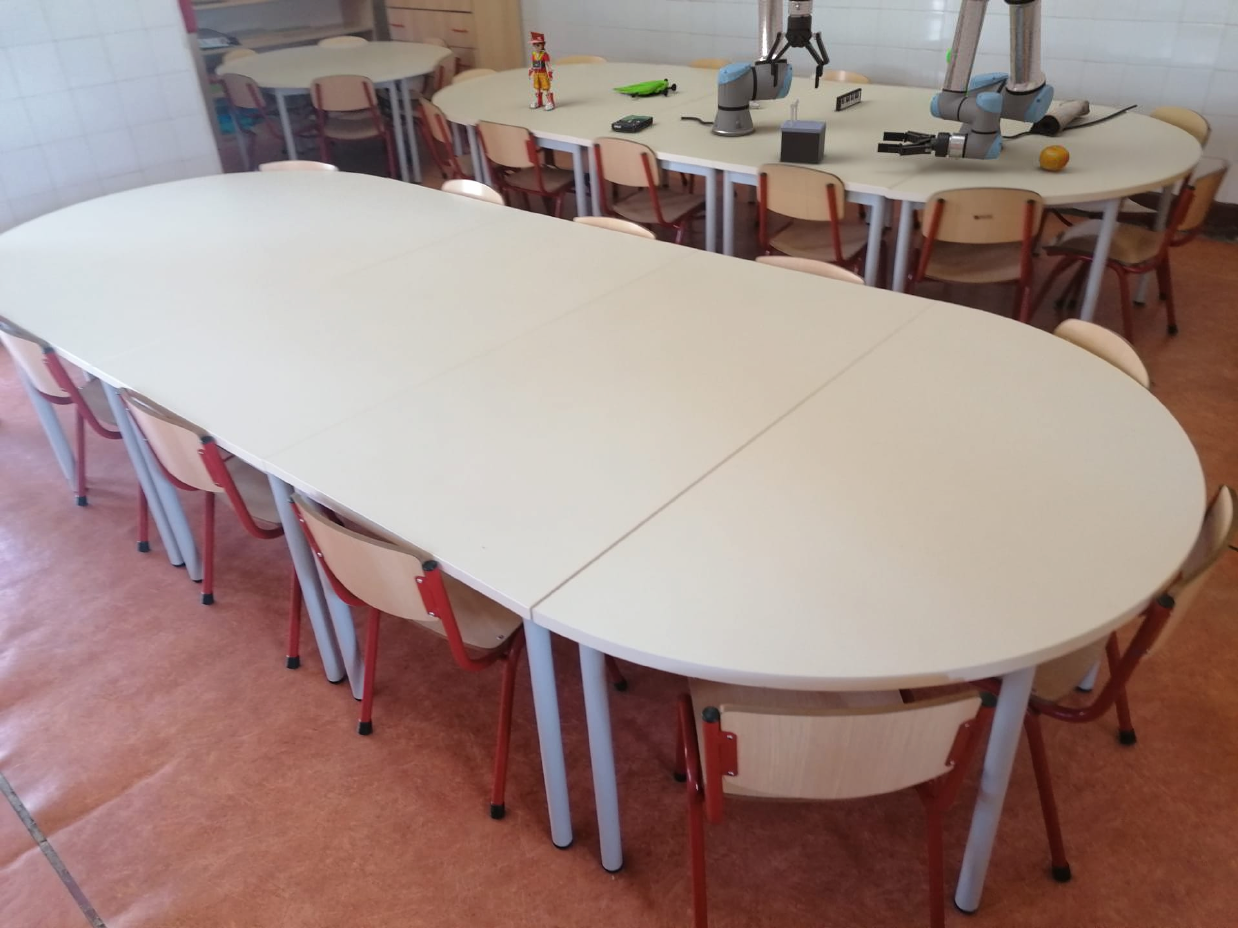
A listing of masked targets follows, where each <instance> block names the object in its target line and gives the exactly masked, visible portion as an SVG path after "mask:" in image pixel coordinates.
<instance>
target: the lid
mask: <svg viewBox="0 0 1238 928" xmlns="http://www.w3.org/2000/svg"><path fill="white" fill-rule="evenodd" d="M799 103H800V100H799V99H798V98H797V99H795V100H793V102H792V103H791V104H790V105H789V106H790V119H787V120H785V122H784V123H782V125H781V126H780V127H779V132H782V131H786V132H806V133H820V132H821V131H822V130H823V128H824V127H825V126H826V127H827V121H824V120H823V121H821V120H803V119H802V120H801V119H800V120H798V105H799Z"/></svg>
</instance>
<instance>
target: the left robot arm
mask: <svg viewBox="0 0 1238 928" xmlns="http://www.w3.org/2000/svg"><path fill="white" fill-rule="evenodd" d="M757 1H758V5H757V6H758V57H757V58H756V59H755V60H754V66H752V65H751V63H750V62H747V61H743V62H741V61H739V62H732V63H729V64H726V65H724V66H722V67H720V69H719V70H718V75H717V111H716V114H715V118H714V120H713V121H705V120H702V119H701V118H699V117H695V116H681V117H680V120H687V121H688V120H692V121H698V122H699V123H700V124H702V125H712V133H713V134H715V135H717V136H721V137H741V136H746V135H750V134H752V133H754V127H755V126H754V122H753V118H752V115H751V111H750V108H749V101H753V102H756V101H757V102H758V101H771V100H773V101H775V100H779V99H780V100H781V99H784V98H786V97H788V95H789V94H790V93H789V92H790V90H791V86H792V81H793V66H792V64H791V63H788V57H787V56H786V55H785V53H786V52H787V51H788V50H789V48H790V47H792V48H799V49H803V48H805V50H807V51H808V53H809V54H810V55H811V57H812V58H813V60H814V61H815V62H816V64H817V65H816V66H815V78H814V89H818V88H819V87H820V78H822V77H823V74H824V66H826V65H828V64H829V63H830V61H831V60H830V57H829V55H828V52H827V49H826V47H825V44H824V42H823V39H822V32H821V31H817V32H813V31H812V24H813V16H812V14H813V11H814V10H813V7H814V0H788V2H787V3H788V4H787V5H788V6H787V14H788V16H787V26H786V27H787V28H786V32H784V0H757ZM784 38H785V39H786V41H787V42H786V44H785V45H784ZM812 38H813V40H814V41H815V42H816V45H817V48H818V50H819V53H820V55H819V53H818V51H816V49H815V47H814V46H813V43H812V42H811V41H810V40H812Z"/></svg>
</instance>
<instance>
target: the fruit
mask: <svg viewBox="0 0 1238 928" xmlns="http://www.w3.org/2000/svg"><path fill="white" fill-rule="evenodd" d="M1070 158H1071V157H1070V152H1069V150H1068V149H1067V148H1066V147H1065V146H1062V145H1057V144H1056V145H1055V144H1054V145H1049V146H1046V147H1045V148H1043V149H1042V150H1041V152H1040V153H1039V157H1038V163H1039V166H1040V167H1041V168H1042V169H1043V170H1046V171H1054V172H1055V171H1060V170H1062V169H1064V168H1065V167H1066V166H1067V165H1068V163H1069V161H1070Z"/></svg>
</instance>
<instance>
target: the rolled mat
mask: <svg viewBox="0 0 1238 928" xmlns="http://www.w3.org/2000/svg"><path fill="white" fill-rule="evenodd" d="M1090 113H1091V110H1090V101H1089V100H1087V99H1073V100H1066V101H1063V102H1060V103H1059V105H1058V106H1057V107H1055V108H1052V109H1049V110H1048V111H1047V112H1046V114H1045V115H1044V117H1043V118H1042V119H1041V120H1040V121H1038V122H1036V123H1032V125H1031V127H1030V129H1029V130H1028V131H1032V132H1033V131H1040V133H1041V134H1042V135H1045V136H1051V137H1054V136H1056V135H1058V134H1059V133H1061V131H1063V130H1062V129H1063V128H1064V127H1067V125H1068V124H1069V123H1071V122H1072V121H1073V120H1075V119H1076V118H1077V117H1082V116H1083V117H1084V116H1086V115H1089V114H1090Z"/></svg>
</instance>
